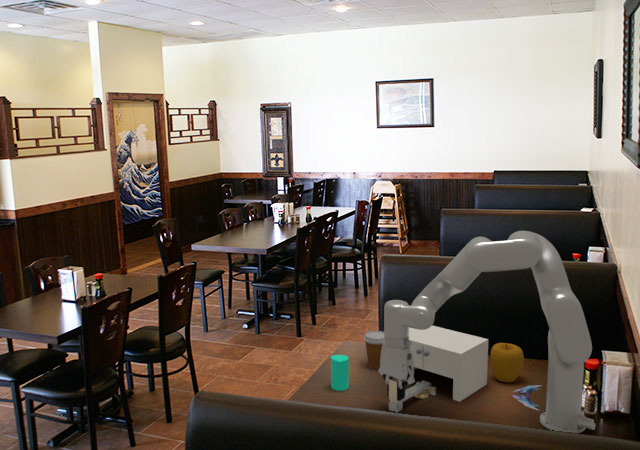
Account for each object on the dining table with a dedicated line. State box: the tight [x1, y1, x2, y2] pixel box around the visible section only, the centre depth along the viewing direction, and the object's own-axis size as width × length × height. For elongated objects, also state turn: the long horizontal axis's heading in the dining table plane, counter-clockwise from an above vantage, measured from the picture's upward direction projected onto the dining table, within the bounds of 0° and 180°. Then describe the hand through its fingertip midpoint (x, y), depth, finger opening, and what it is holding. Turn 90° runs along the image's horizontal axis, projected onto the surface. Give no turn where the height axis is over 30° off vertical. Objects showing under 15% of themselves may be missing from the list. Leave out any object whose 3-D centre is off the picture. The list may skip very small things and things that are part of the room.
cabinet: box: [409, 325, 489, 403], centre depth 206 cm, size 28×19×16 cm
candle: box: [330, 354, 350, 392], centre depth 202 cm, size 6×6×12 cm
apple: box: [490, 342, 525, 384], centre depth 207 cm, size 11×11×13 cm
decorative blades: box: [511, 384, 542, 411], centre depth 195 cm, size 20×1×10 cm
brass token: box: [413, 390, 430, 400], centre depth 196 cm, size 5×5×1 cm
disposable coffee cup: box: [363, 330, 384, 370], centre depth 220 cm, size 10×10×12 cm
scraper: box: [388, 377, 437, 414], centre depth 191 cm, size 19×7×10 cm, turn 137°
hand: (396, 396), depth 186 cm, fingers closed on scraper, 3 cm apart
